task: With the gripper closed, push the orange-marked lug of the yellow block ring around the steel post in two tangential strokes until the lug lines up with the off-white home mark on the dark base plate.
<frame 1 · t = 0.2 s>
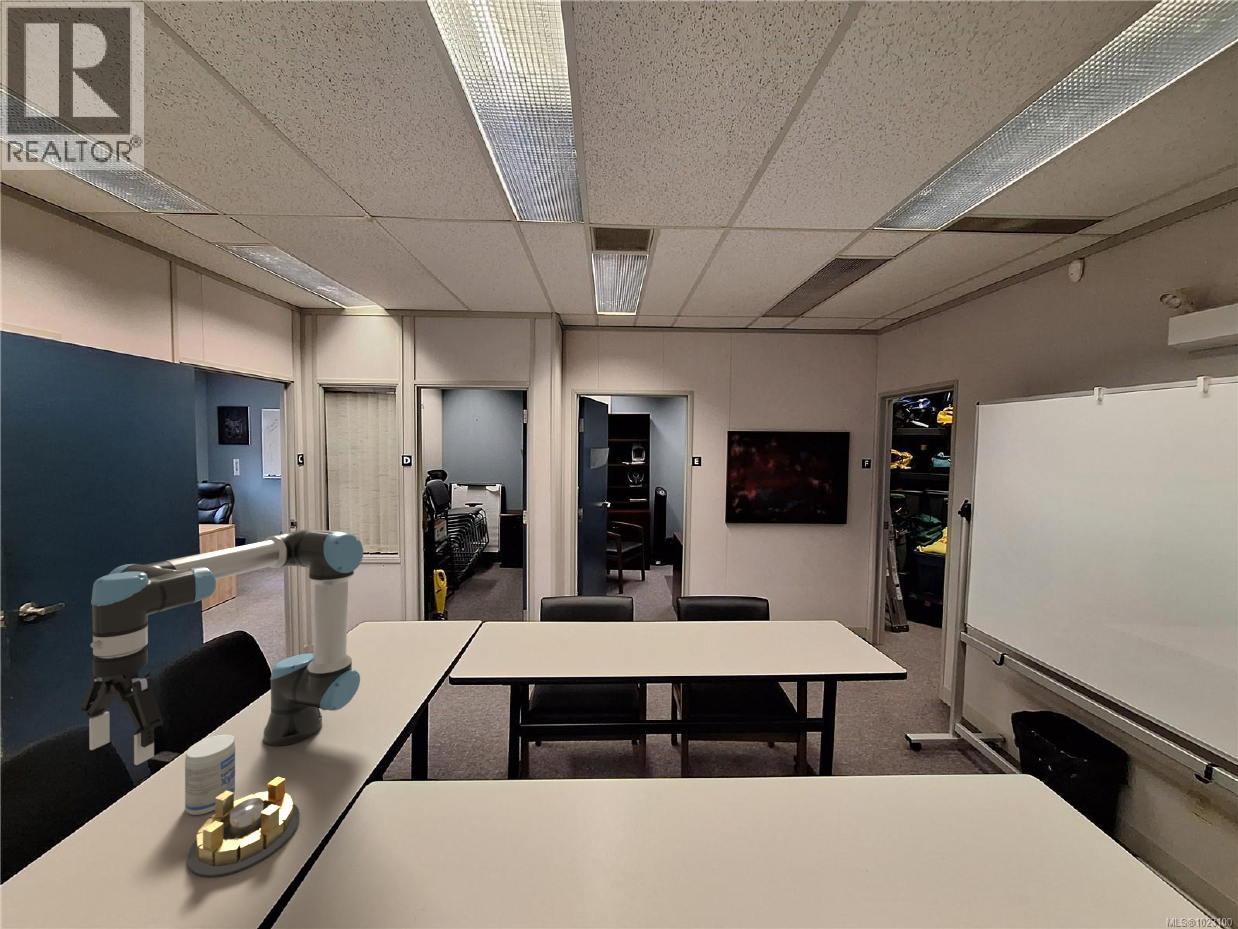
hand: (121, 753, 93), 28 cm above the table, fingers open, 13 cm apart
supplement tub: (210, 802, 116), on the table
yellow block ring: (246, 817, 106), point 5 cm above the table, hinge at 0.0°
spindle base: (246, 837, 106), on the table
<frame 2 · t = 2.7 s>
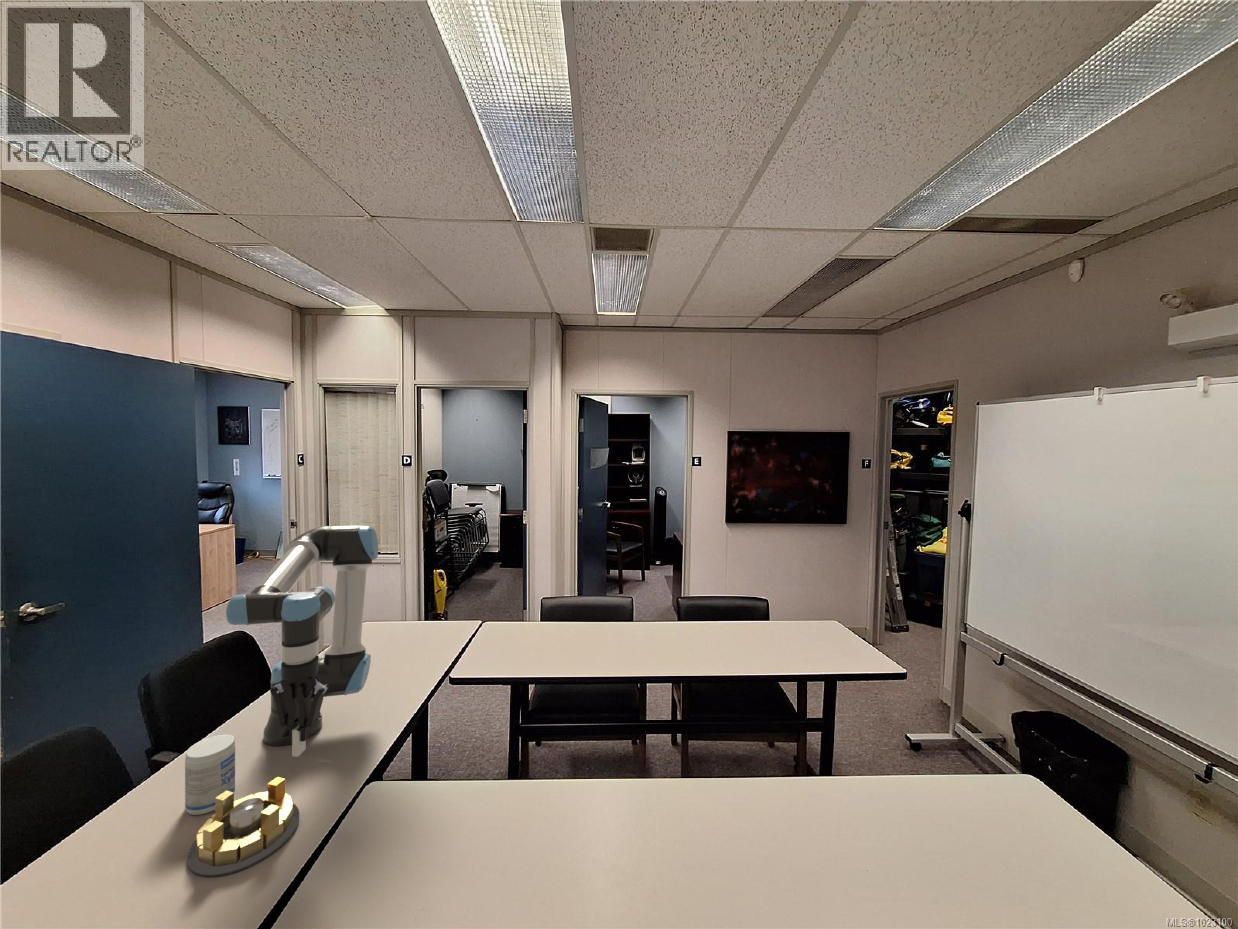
hand: (298, 752, 112), 16 cm above the table, fingers closed
nothing on the table moved.
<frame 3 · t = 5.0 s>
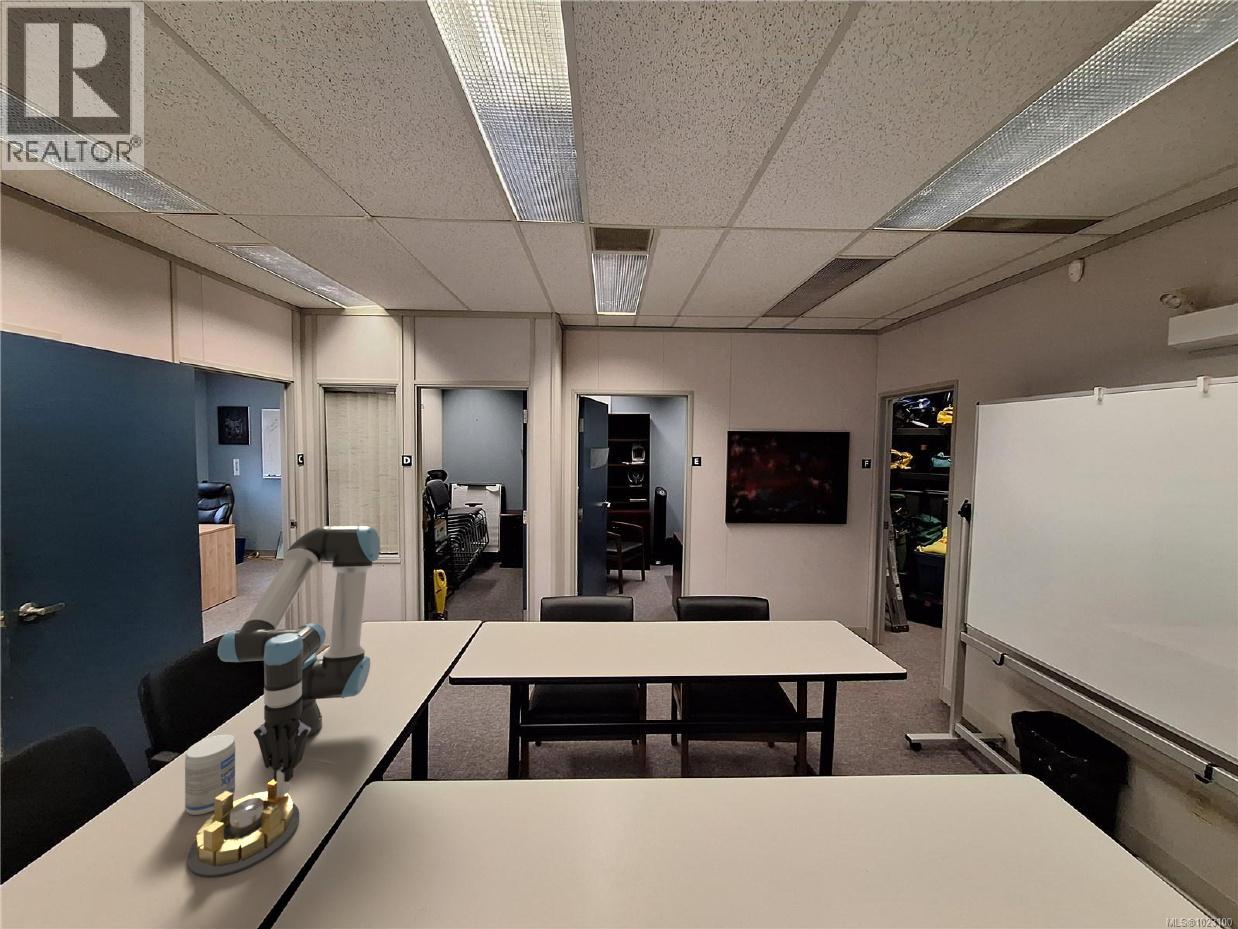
hand: (283, 793, 113), 5 cm above the table, fingers closed
yellow block ring: (246, 817, 106), point 5 cm above the table, hinge at 1.3°, touching gripper
everything else where it was.
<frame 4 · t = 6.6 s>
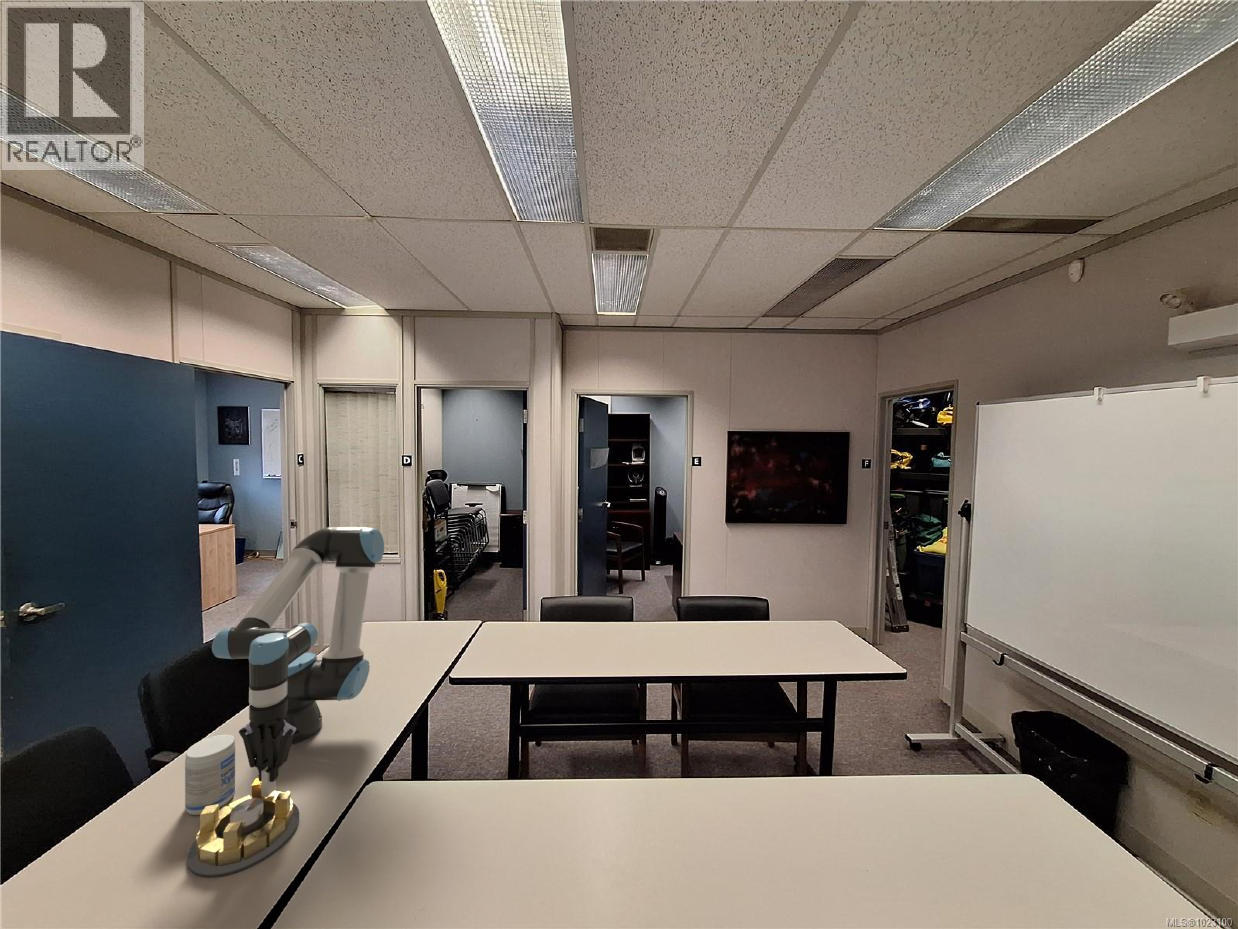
hand: (268, 792, 112), 5 cm above the table, fingers closed
yellow block ring: (246, 817, 106), point 5 cm above the table, hinge at 34.1°, touching gripper
everything else where it was.
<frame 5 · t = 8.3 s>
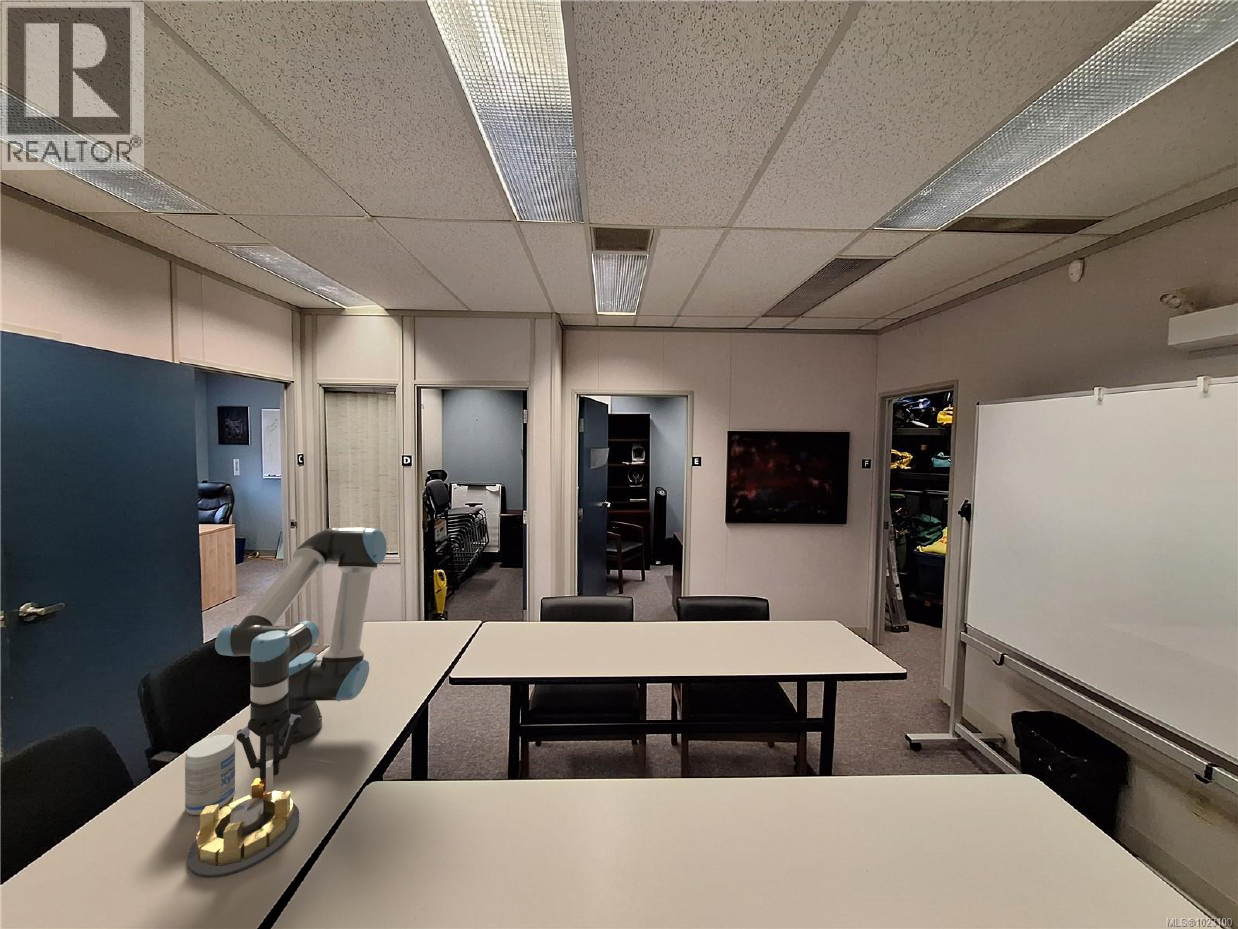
hand: (269, 789, 114), 5 cm above the table, fingers closed
nothing on the table moved.
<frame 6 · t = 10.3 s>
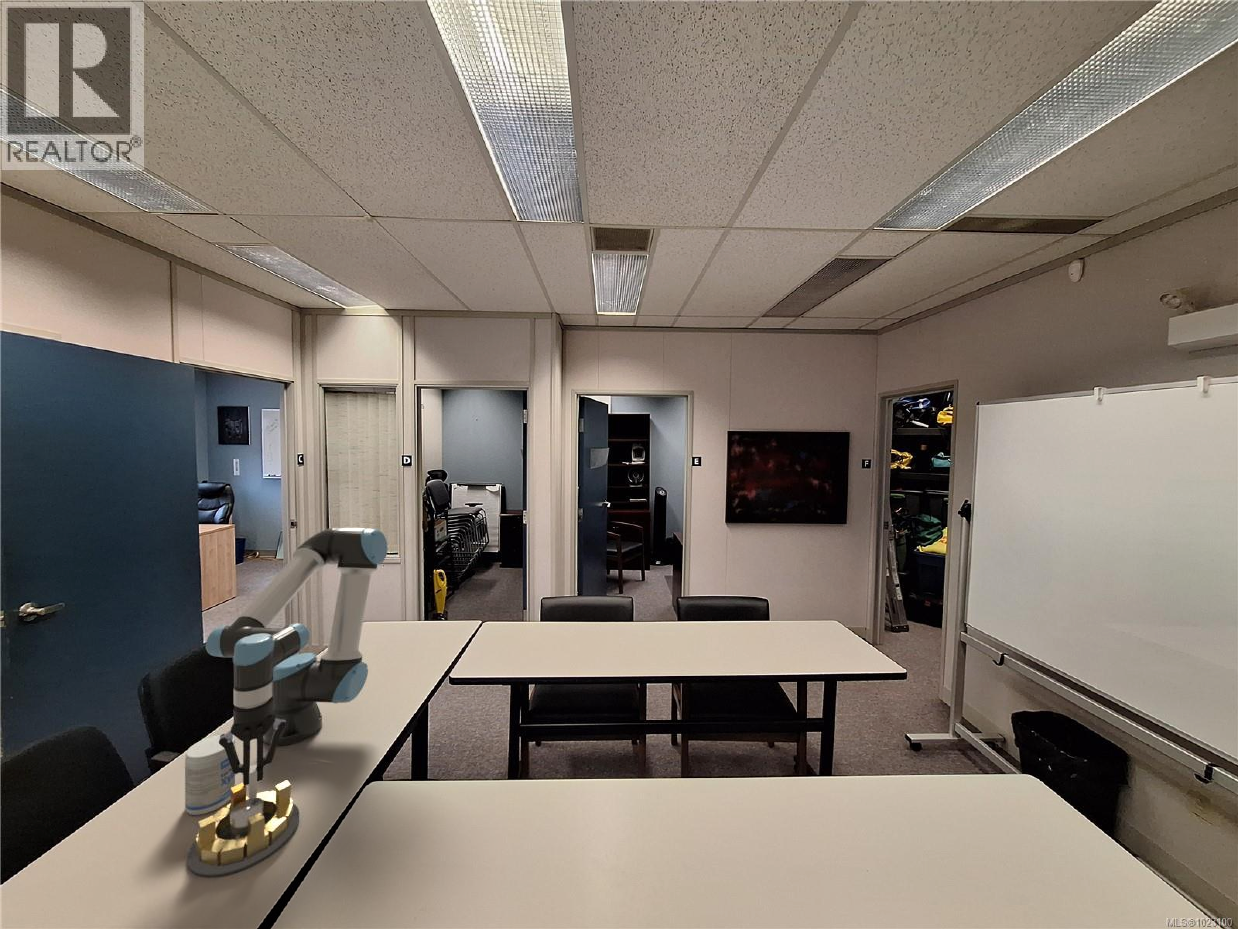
hand: (253, 794, 112), 5 cm above the table, fingers closed
yellow block ring: (246, 817, 106), point 5 cm above the table, hinge at 67.2°
everything else where it was.
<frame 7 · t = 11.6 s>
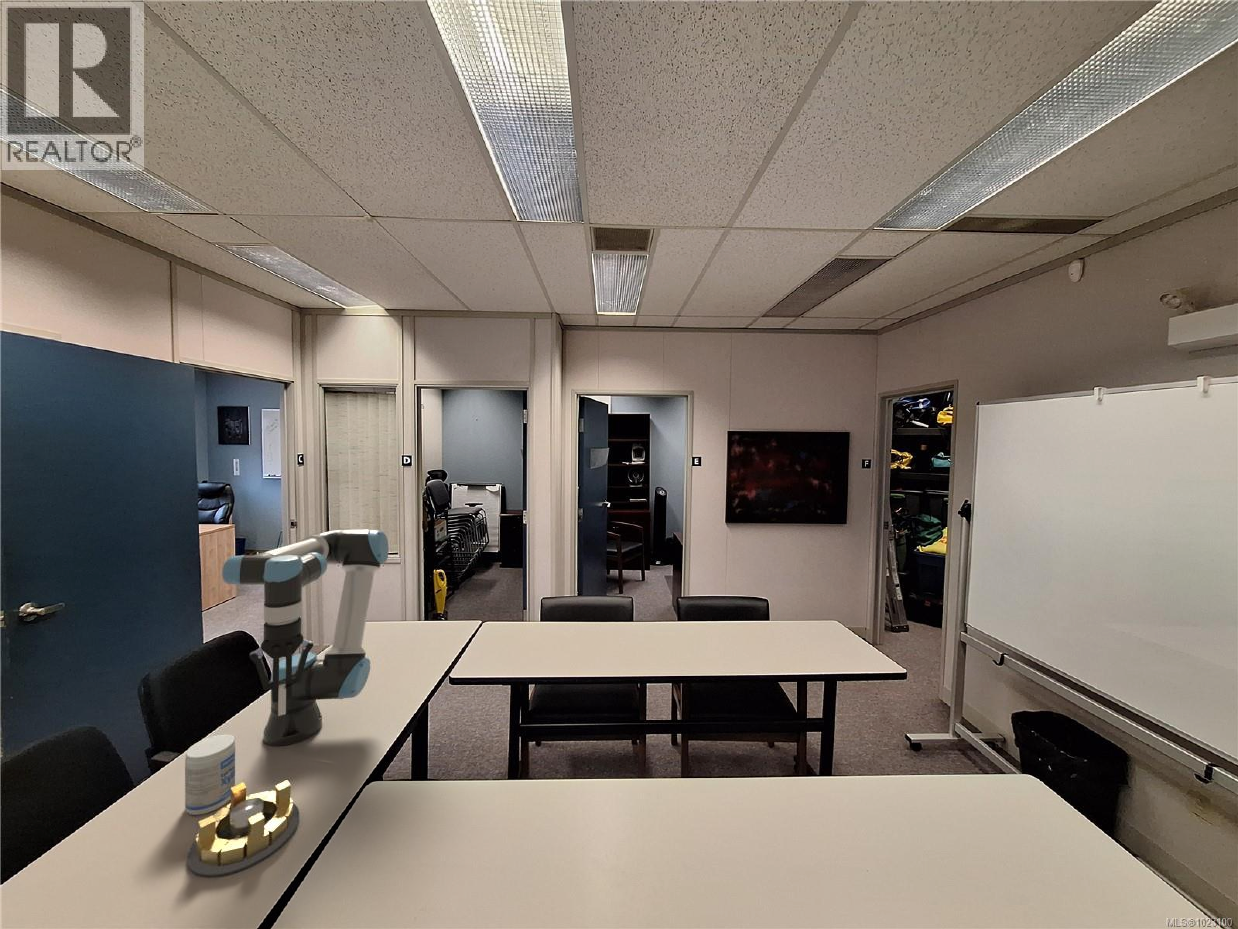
hand: (281, 712, 114), 24 cm above the table, fingers closed
nothing on the table moved.
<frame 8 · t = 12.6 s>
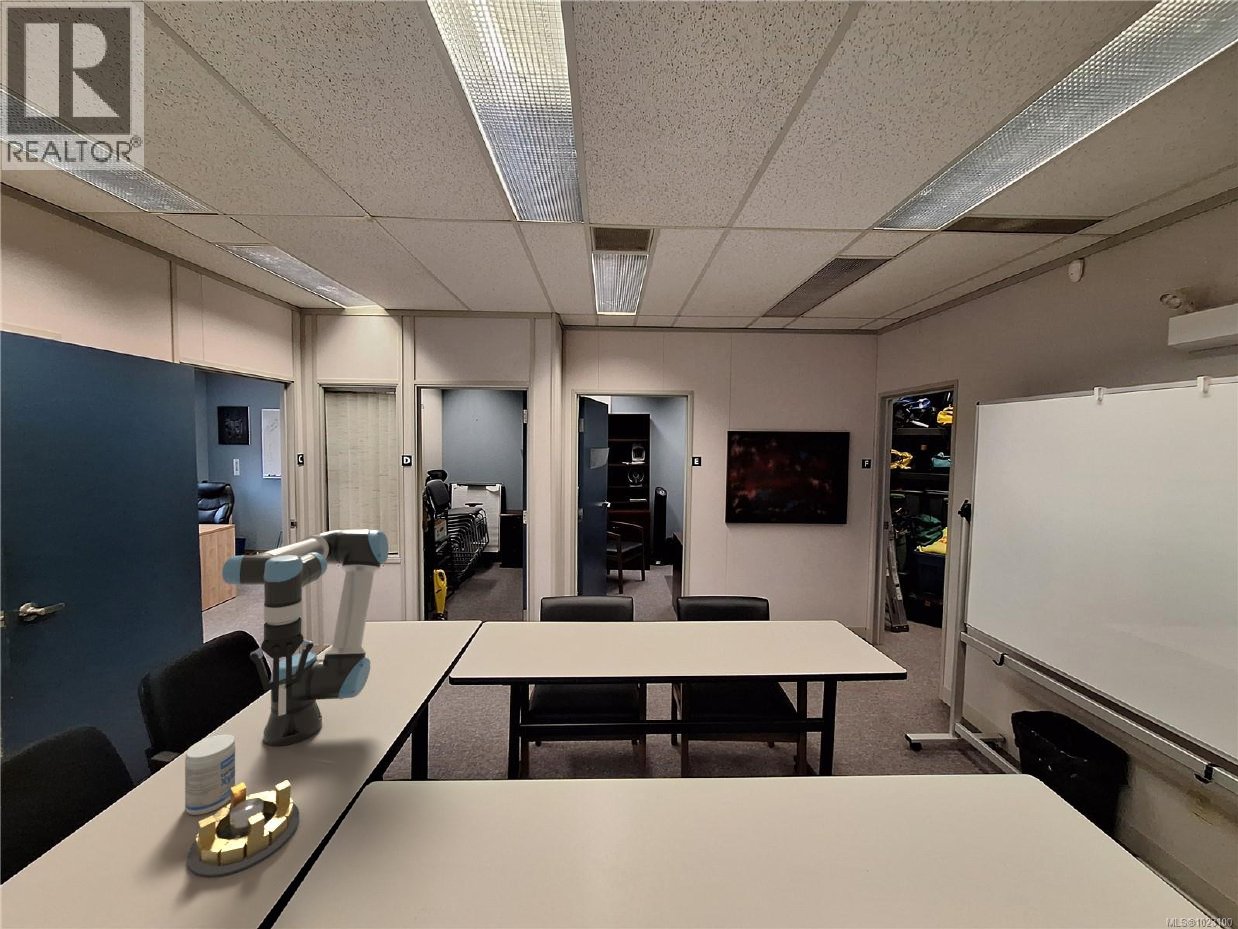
hand: (282, 712, 114), 24 cm above the table, fingers closed
nothing on the table moved.
at the end: yellow block ring at +67° (first picture: +0°) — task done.
